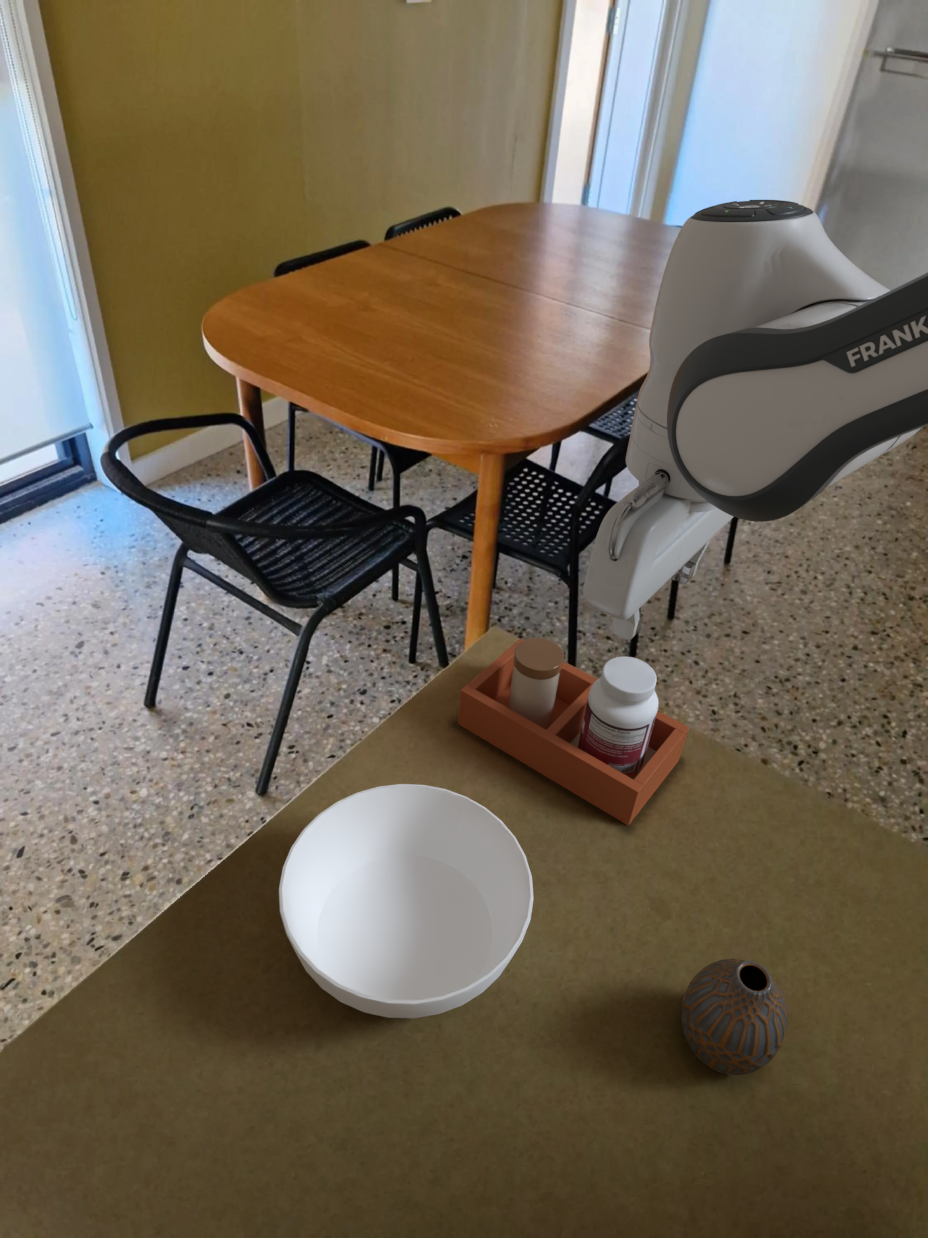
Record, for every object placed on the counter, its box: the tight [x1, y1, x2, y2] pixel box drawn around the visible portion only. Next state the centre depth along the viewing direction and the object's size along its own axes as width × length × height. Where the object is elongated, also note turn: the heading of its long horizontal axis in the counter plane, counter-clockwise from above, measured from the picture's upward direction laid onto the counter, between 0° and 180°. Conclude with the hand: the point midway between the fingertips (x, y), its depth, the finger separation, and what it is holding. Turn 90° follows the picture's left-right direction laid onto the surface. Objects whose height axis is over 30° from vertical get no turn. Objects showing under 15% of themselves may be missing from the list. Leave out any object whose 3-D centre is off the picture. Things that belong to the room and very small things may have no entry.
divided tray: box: [457, 638, 690, 826], centre depth 84 cm, size 10×19×5 cm, turn 53°
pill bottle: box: [578, 656, 659, 779], centre depth 80 cm, size 6×6×11 cm
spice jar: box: [508, 637, 565, 729], centre depth 84 cm, size 5×5×8 cm
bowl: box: [278, 783, 535, 1019], centre depth 66 cm, size 18×18×7 cm
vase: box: [680, 958, 788, 1076], centre depth 61 cm, size 7×7×9 cm
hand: (654, 604), depth 71 cm, fingers open, 8 cm apart
